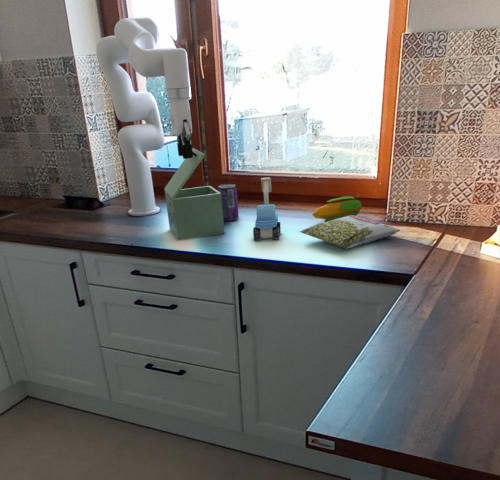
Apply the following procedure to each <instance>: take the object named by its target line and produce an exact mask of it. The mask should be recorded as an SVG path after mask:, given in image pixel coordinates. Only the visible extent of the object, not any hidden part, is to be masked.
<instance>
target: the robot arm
mask: <svg viewBox="0 0 500 480" xmlns="http://www.w3.org/2000/svg"><path fill="white" fill-rule="evenodd" d="M113 33H114V35H108V36H104V37H101V38H100V39H98V41H97V44H96V57H97V62H98V64H99V67H100V69H101V71H102V73H103V75H104V77H105V79H106V82H107V84H108V85H107V86H108V89H109V93H110V97H111V101H112V104H113V109H114V112H115V114H116V118H117V119H118V120H119V122H122V123H131V122H139V121H144V122H145V123H141V124H139V123H138V124H131V125H126V126H123V127H122V128H120V130H119V131H118V133H117V141H118V145H119V148H120V151H121V156H122V159H123V164H124V168H125V175H126V181H127V187H128V193H129V198H130V207H131V208H130V209H128V210H127V213H128V215H130V216H134V217H146V216H151V215H155V214H158V213H159V212H160V211H161V207H159V206H157V205H156V199H155V192H154V184H153V177H152V170H151V164H150V162H149V160H148V159H147V158H146V157H145V156H144V155H143V153H146V152H152V151H158V150H161V149H162V148H163V147H164V145H165V133H164V129H163V124H162V120H161V115H160V111H159V107H158V103H157V100H156V98H155V96H154V95H153V94H152V93H151V92H150V91H145V90H143V91H135V89H134V86H133V82H132V79H131V76H130V75H129V73H128V72H127V71H126V70H125V68H123V67H122V66H121V65H122V64H130V66H131V67H132V69H133V70H134V71H135V72H136V73H137V74H138V75H139V76H141V77H144V78H159V77H164V82H165V90H166V91H165V92H166V99H167V101H168V102H169V114H170V128H171V133H172V134H173V135H175V136H176V142H177V143H176V145H177V154H178V156H179V157H182V159H183V160H185V159H188V158H193V154H192V148H193V145H192V139H191V135H192V134H193V123H192V115H191V106H190V103H189V102H190V100H192V90H191V79H190V70H189V60H188V53H187V50H186V49H185V48H182V47H177V48H175V47H165V48H164V47H163V48H156V46H157V45H158V41H159V28H158V26H157V24H156V22H155V21H154V20H153V19H152V18H150V17H147V16H143V17H125V18H121V19H120V20H118V21H117V22H116V24H115V26H114V30H113ZM120 64H121V65H120Z"/></svg>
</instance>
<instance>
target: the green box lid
mask: <svg viewBox="0 0 500 480" xmlns="http://www.w3.org/2000/svg"><path fill="white" fill-rule="evenodd" d="M192 154H193V158H188V159H183V161H182V162H181V164H180V165H179V167H178V168H177V170H176V171H175V173H174V174H173V176H172V177H171V178H170V180H169V181H168V183H167V184H166V185H165V187H164V188H163V190H164V192H165V191H166V192H167V193H168V194H169V195H170V196H171V197H172V198H175V197H176V195H177V194H178V192H179V191H180V190H181V189H183V187H184V185H186V182H187V181H188V180H189V178H190V177H191V176H192V175H193V173H194V172H195V170H196V169H197V168H198V166H199V165H200V163H201V161H202V160H203V159H204V157H205V156H206V154H205V153H204V152H202V151H200V150H198V149H196V148H194V147H192Z"/></svg>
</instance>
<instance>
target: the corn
mask: <svg viewBox="0 0 500 480" xmlns="http://www.w3.org/2000/svg"><path fill="white" fill-rule="evenodd" d="M325 202H326V203H327V204H324V205H322V206H319V207H318V208H316V209H315V210H314V211H313V212H312V214H311V215H312V217H314V218H315V219H319V220H320V219H321V220H324V221H323V223H324V222H328V221H331V220H335V219H338V218H342V217H346V216H351V215H354V216H358V215H359V213H360V212H361V209H362V207H363V206H362V202H361V201H360V200H359V199H357V198H355V197H354V196H347V195H346V196H340V197H336V198H332V199H329V200H327V201H325Z"/></svg>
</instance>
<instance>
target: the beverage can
mask: <svg viewBox="0 0 500 480" xmlns="http://www.w3.org/2000/svg"><path fill="white" fill-rule="evenodd" d="M217 191H218V192H220V193H221V198H222V211H223V222H234V221H236V220H237V219H239V217H240V214H239V202H238V200H239V199H238V190H237V188H236V184H232V183H225V184H220V185H218V189H217Z"/></svg>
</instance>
